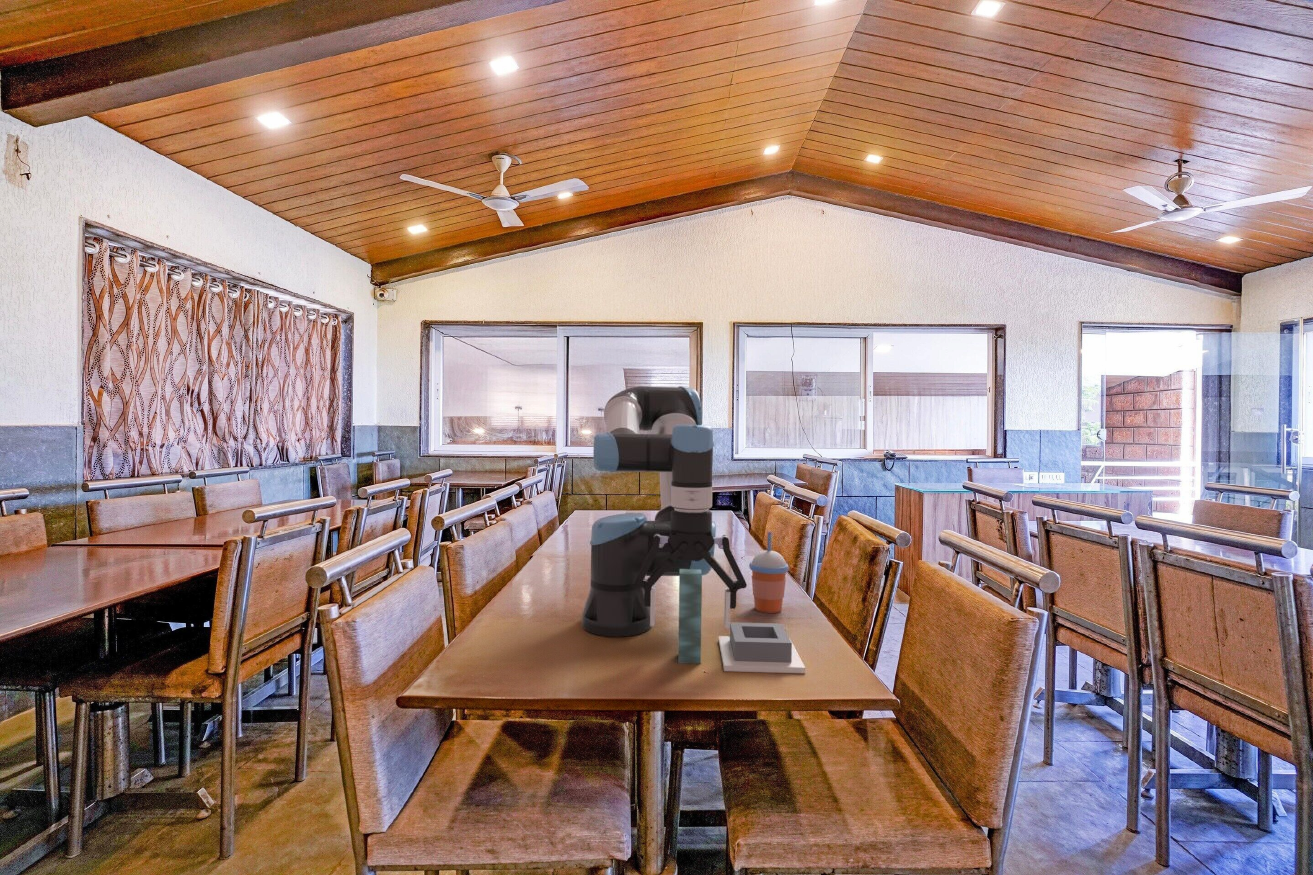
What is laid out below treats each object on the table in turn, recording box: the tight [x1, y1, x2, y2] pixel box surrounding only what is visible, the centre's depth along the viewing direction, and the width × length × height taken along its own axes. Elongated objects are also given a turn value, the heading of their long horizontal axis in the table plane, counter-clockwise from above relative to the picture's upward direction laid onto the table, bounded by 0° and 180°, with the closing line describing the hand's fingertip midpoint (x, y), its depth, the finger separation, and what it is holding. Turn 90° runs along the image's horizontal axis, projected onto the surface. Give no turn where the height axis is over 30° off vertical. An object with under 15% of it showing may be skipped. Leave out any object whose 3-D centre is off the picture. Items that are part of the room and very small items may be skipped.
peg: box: [677, 569, 703, 664], centre depth 106 cm, size 4×4×16 cm
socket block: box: [718, 621, 806, 674], centre depth 108 cm, size 14×14×4 cm
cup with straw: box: [748, 531, 790, 614], centre depth 136 cm, size 9×9×18 cm
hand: (689, 624), depth 106 cm, fingers open, 13 cm apart
